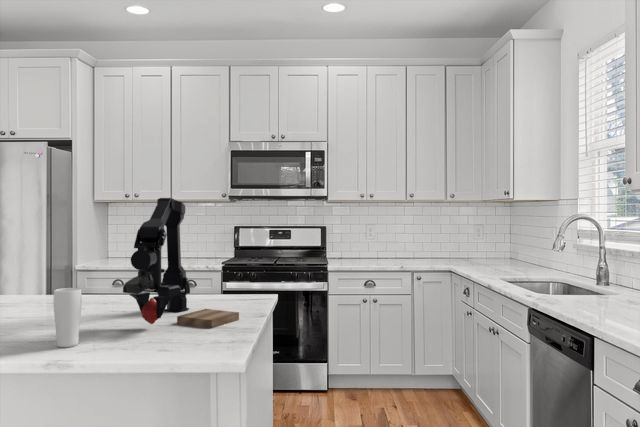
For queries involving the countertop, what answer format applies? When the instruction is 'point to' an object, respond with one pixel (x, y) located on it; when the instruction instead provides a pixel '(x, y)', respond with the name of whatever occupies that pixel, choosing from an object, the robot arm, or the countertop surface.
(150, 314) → the red round fruit
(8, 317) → the countertop surface
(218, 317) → the walnut block
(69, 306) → the drinking glass
